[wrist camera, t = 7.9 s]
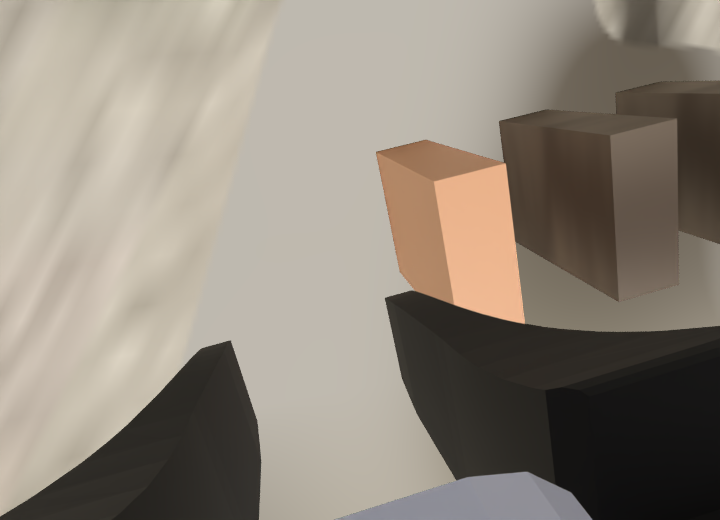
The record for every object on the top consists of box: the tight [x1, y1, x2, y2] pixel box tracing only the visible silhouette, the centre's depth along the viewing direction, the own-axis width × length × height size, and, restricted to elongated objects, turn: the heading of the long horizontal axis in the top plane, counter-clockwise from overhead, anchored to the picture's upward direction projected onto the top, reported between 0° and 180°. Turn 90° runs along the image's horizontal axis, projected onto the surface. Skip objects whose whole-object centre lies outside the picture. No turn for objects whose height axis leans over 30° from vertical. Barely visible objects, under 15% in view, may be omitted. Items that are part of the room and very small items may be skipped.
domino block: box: [499, 110, 679, 302], centre depth 19 cm, size 5×2×7 cm, turn 12°
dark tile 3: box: [616, 81, 720, 244], centre depth 19 cm, size 5×2×7 cm, turn 12°
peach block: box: [376, 140, 525, 324], centre depth 18 cm, size 5×2×7 cm, turn 12°
